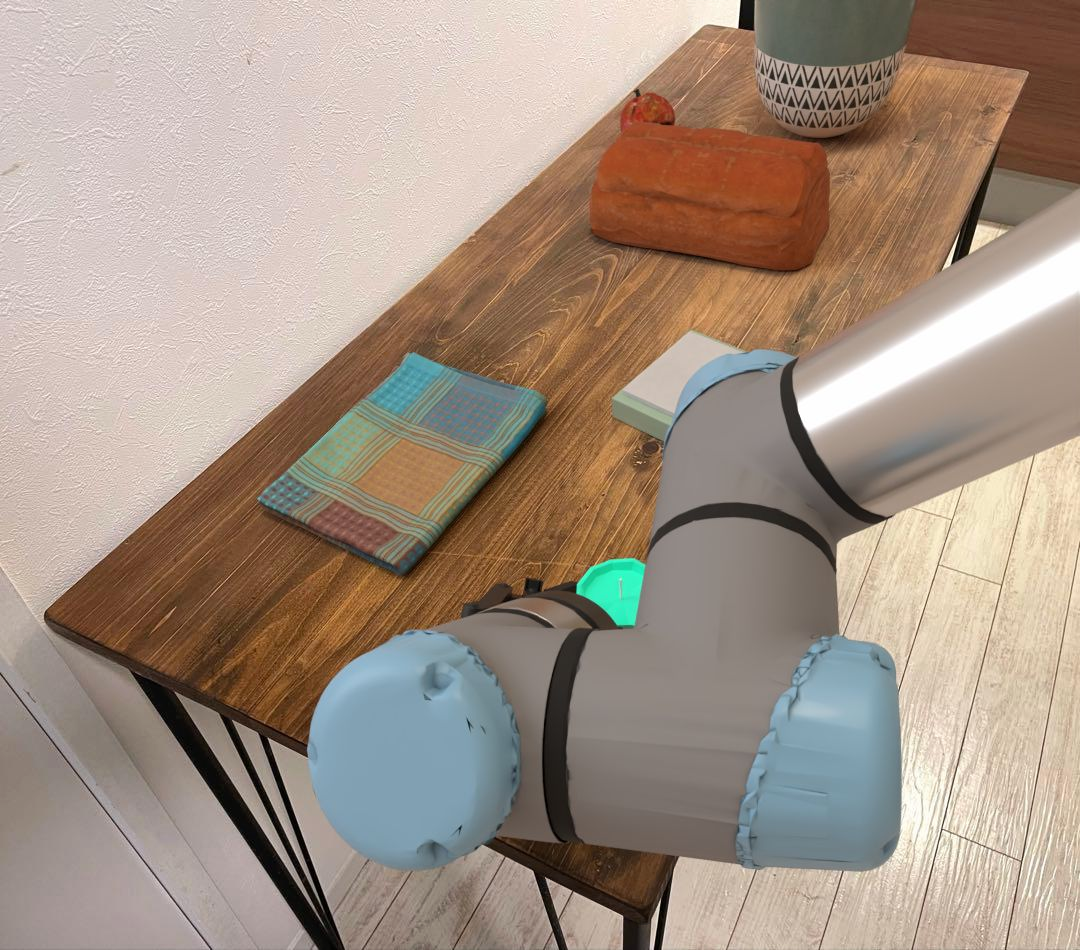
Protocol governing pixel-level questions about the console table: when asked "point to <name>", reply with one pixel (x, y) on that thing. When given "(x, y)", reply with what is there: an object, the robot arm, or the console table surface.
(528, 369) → the console table surface
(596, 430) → the console table surface
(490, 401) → the dish towel
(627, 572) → the candle
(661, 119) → the red round fruit
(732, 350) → the scale
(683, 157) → the bread
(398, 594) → the console table surface
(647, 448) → the console table surface
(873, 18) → the planter
